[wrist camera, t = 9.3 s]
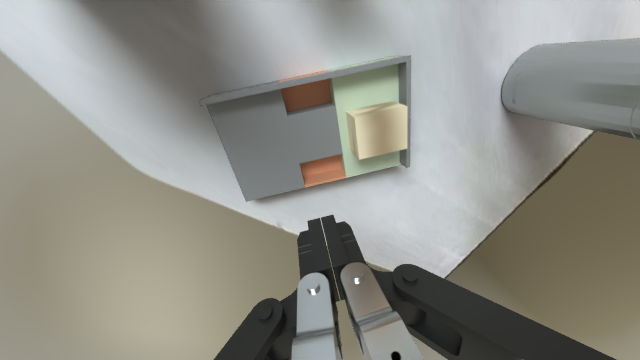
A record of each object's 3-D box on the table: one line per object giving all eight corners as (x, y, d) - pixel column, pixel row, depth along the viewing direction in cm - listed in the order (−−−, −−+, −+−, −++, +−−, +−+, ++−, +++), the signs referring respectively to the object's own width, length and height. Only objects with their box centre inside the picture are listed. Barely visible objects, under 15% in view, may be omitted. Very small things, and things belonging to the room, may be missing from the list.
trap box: (391, 56, 29) (410, 55, 25) (394, 156, 36) (409, 170, 31) (211, 95, 28) (197, 101, 23) (248, 190, 35) (244, 209, 30)
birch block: (391, 100, 28) (407, 106, 25) (393, 138, 31) (407, 148, 27) (345, 111, 28) (354, 118, 25) (350, 148, 31) (359, 159, 27)
